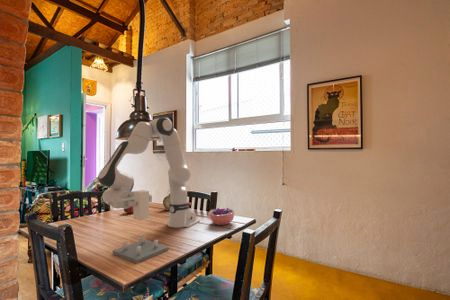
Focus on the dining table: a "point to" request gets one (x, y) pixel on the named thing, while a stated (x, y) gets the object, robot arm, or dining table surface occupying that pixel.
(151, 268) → the dining table surface
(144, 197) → the cream post
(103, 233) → the dining table surface
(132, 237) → the dining table surface
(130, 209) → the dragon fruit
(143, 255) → the peg cradle
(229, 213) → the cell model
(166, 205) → the alarm clock
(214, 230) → the dining table surface
